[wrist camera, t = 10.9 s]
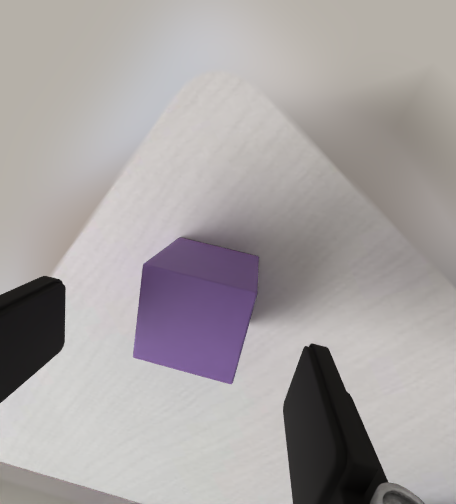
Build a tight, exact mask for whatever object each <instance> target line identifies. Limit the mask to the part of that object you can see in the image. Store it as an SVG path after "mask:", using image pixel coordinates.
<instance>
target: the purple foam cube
mask: <svg viewBox="0 0 456 504" xmlns="http://www.w3.org/2000/svg"><path fill="white" fill-rule="evenodd" d="M258 263H259V257H258V256H255V255H251V254H247V253H243V252H239V251H234V250H230V249H226V248H222V247H218V246H214V245H210V244H205V243H201V242H197V241H193V240H189V239H185V238H181V237H180V238H178V239H177V240H175V241H174V242H173V243H171V244H170V245H169V246H167V247H166V248H165V249H163V250H162V251H160V252H159V253H158V254H156V255H155V256H154V257H152V258H151V259H150V260H148V261H147V262H146V263H144V264H143V270H142V279H141V288H140V297H139V307H138V316H137V325H136V334H135V343H134V352H133V357H134V358H137V359H141V360H144V361H148V362H152V363H155V364H159V365H163V366H166V367H170V368H173V369H177V370H181V371H184V372H188V373H192V374H195V375H199V376H202V377H206V378H210V379H213V380H217V381H221V382H224V383H228V384H232V383H233V380H234V376H235V373H236V369H237V366H238V362H239V358H240V355H241V351H242V347H243V344H244V340H245V337H246V333H247V329H248V326H249V322H250V319H251V315H252V311H253V308H254V304H255V300H256V297H257V290H258Z"/></svg>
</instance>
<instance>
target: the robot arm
mask: <svg viewBox="0 0 456 504" xmlns="http://www.w3.org/2000/svg"><path fill="white" fill-rule="evenodd" d="M64 342H65V285H63V283H62V281H61V280H60V279H56V278H52V277H48V276H43V277H40V278H38V279H35V280H33V281H31V282H29V283H26V284H24V285H22V286H20V287H17V288H15V289H13V290H11V291H8V292H6V293H4V294H2V295H0V403H1V402H2V401H3V400H5V399H6V398H7V397H8V396H9V395H10V394H12V393H13V392H14V391H15V390H16V389H17V388H18V387H20V386H21V385H22V384H23V383H24V382H25V381H27V380H28V379H29V378H30V377H31V376H32V375H34V374H35V373H36V372H37V371H38V370H39V369H40V368H42V367H43V366H44V365H45V364H46V363H47V362H49V361H50V360H51V359H52V358H53V357H54V356H55V355H57V354H58V353H59V352H60V351H61V349H62V348H63V346H64ZM283 415H284V424H285V433H286V442H287V451H288V461H289V470H290V479H291V488H292V498H293V504H425V503H424V502H423V501H422V500H421V499H420V498H419V497H417V496H416V495H414V494H413V493H412V492H410V491H409V490H408V489H406V488H404V487H402V486H400V485H398V484H394V483H389V482H388V480H387V478H386V476H385V473H384V471H383V469H382V466H381V464H380V462H379V460H378V457H377V455H376V453H375V450H374V448H373V446H372V443H371V441H370V439H369V436H368V434H367V432H366V429H365V427H364V425H363V422H362V420H361V418H360V415H359V413H358V411H357V409H356V406H355V404H354V402H353V399H352V397H351V396H350V394H349V393H348V392H346V389H345V387H344V384H343V382H342V380H341V377H340V375H339V373H338V370H337V368H336V365H335V363H334V361H333V358H332V356H331V353H330V351H329V349H328V348H327V347H324V346H320V345H316V344H310V346H309V347H307V346H305V347H304V349H303V351H302V354H301V357H300V360H299V362H298V365H297V368H296V371H295V373H294V376H293V379H292V382H291V384H290V387H289V390H288V393H287V396H286V398H285V401H284V406H283ZM0 504H140V503H137V502H134V501H130V500H127V499H124V498H120V497H117V496H114V495H110V494H107V493H104V492H100V491H97V490H94V489H90V488H87V487H84V486H80V485H77V484H74V483H70V482H67V481H63V480H60V479H57V478H53V477H50V476H47V475H43V474H40V473H36V472H33V471H30V470H26V469H23V468H20V467H16V466H13V465H9V464H6V463H3V462H0Z"/></svg>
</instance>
